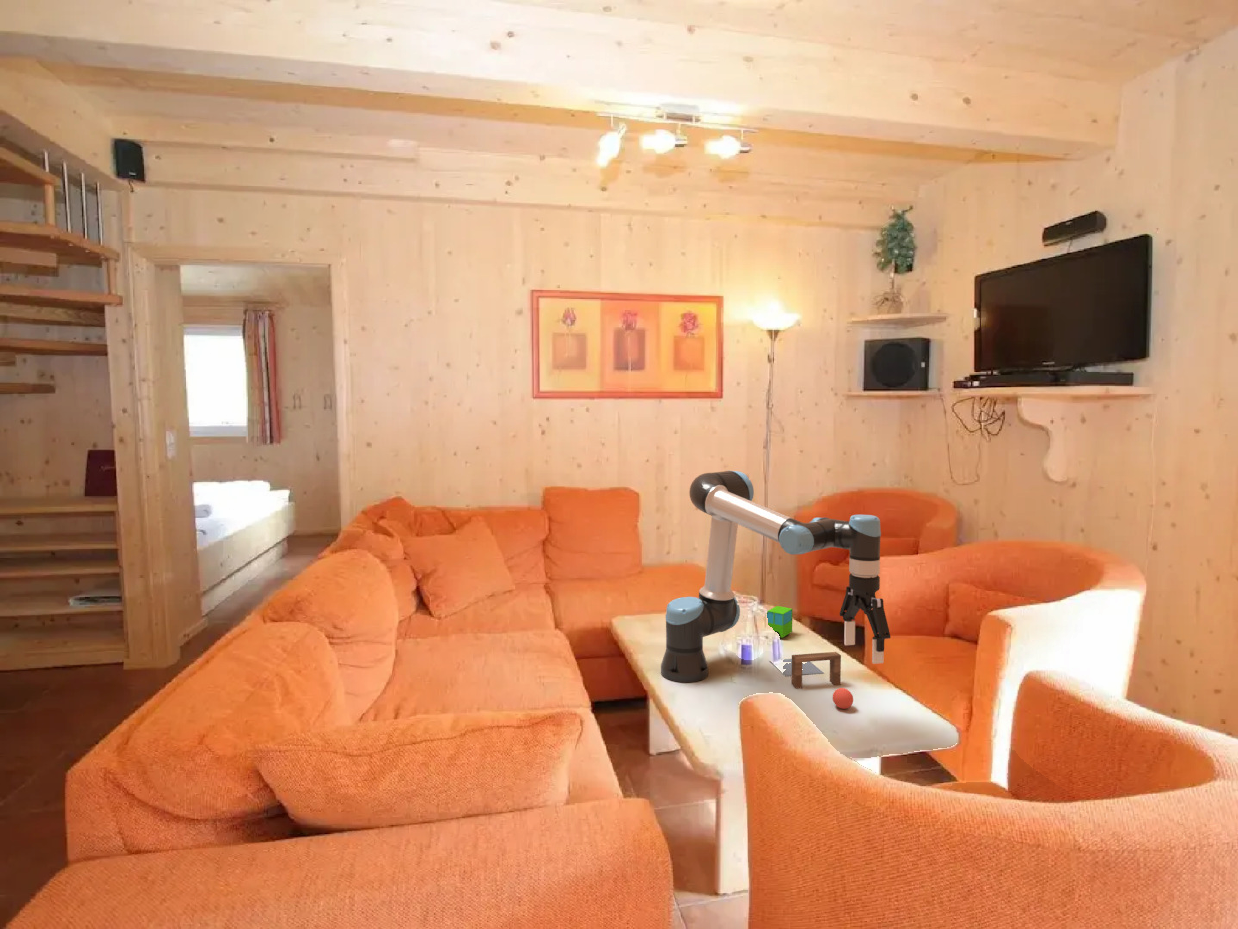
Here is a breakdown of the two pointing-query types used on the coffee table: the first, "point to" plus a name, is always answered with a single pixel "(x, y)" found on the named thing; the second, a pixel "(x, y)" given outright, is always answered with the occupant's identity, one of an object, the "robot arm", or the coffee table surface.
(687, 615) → the robot arm
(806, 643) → the coffee table surface
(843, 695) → the ball
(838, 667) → the bridge
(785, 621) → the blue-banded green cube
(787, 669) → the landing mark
